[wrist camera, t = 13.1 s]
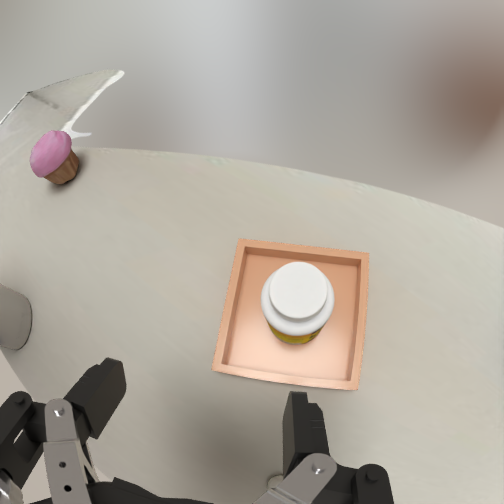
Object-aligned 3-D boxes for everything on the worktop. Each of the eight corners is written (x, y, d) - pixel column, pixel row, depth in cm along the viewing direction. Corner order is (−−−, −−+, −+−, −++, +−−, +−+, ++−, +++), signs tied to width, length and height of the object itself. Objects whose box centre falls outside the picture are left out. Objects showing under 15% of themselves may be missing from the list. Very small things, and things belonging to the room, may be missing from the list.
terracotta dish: (218, 370, 27) (211, 370, 25) (242, 248, 32) (238, 238, 30) (351, 388, 25) (357, 390, 22) (363, 262, 30) (368, 252, 27)
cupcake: (89, 149, 45) (63, 114, 36) (86, 181, 41) (54, 143, 32) (55, 170, 45) (27, 139, 36) (50, 202, 41) (17, 170, 32)
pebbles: (262, 503, 20) (259, 513, 18) (271, 466, 22) (269, 474, 20) (309, 508, 19) (310, 518, 17) (319, 471, 21) (322, 479, 19)
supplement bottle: (310, 354, 26) (321, 344, 17) (259, 332, 28) (241, 310, 18) (332, 303, 28) (351, 267, 19) (282, 283, 29) (276, 239, 20)
